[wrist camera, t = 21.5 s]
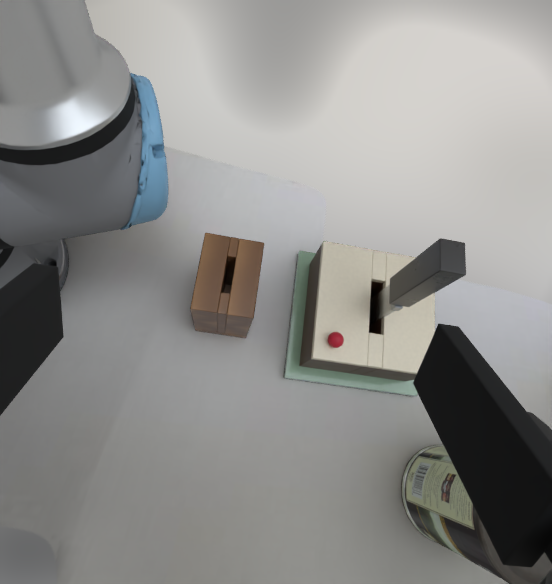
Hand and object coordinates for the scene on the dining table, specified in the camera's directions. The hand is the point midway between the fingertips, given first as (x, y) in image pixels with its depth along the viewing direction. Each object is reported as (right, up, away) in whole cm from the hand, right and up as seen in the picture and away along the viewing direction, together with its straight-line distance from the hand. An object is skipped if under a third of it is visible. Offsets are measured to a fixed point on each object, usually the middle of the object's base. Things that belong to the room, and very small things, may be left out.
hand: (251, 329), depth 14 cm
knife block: (-5, 0, +34) cm, 35 cm away
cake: (+11, -2, +35) cm, 37 cm away
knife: (+11, -2, +35) cm, 37 cm away
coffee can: (+20, -22, +31) cm, 43 cm away
